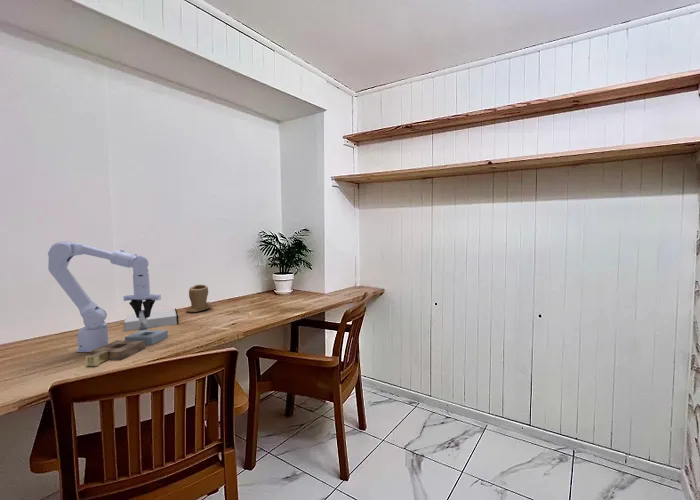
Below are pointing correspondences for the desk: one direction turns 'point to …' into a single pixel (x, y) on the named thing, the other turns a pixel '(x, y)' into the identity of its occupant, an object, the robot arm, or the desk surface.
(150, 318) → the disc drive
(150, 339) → the block
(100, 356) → the key
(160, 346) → the desk surface
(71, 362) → the desk surface
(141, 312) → the grey peg
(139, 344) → the socket block
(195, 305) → the stone cup
